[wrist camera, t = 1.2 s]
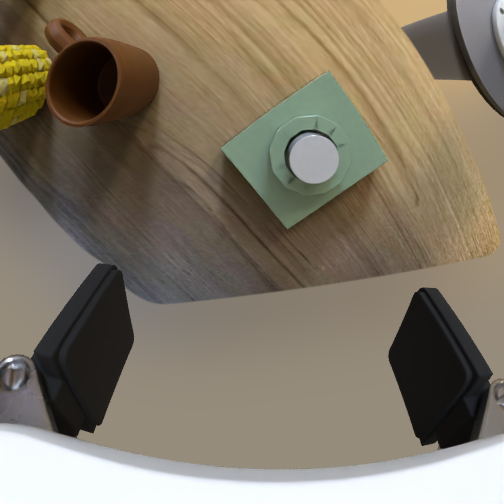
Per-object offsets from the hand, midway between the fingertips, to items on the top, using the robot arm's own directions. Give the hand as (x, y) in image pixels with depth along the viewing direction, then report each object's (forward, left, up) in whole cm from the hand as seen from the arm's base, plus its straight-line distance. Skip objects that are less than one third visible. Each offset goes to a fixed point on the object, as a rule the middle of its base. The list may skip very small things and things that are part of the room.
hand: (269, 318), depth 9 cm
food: (+14, -26, -24) cm, 38 cm away
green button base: (-4, +1, -24) cm, 24 cm away
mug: (+5, -18, -24) cm, 30 cm away
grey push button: (-4, +1, -19) cm, 20 cm away
